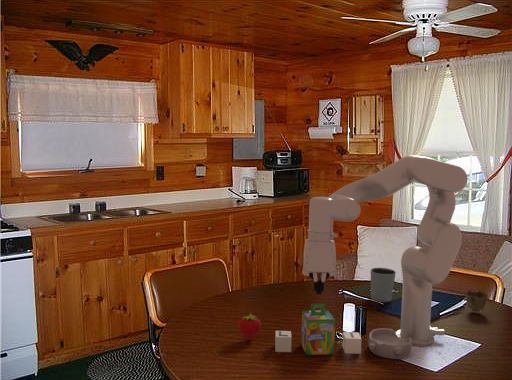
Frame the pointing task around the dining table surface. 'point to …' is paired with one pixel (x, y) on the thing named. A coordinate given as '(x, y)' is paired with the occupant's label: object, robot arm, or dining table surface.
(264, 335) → the dining table surface
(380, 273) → the grey cylinder
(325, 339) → the chalk box
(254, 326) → the strawberry
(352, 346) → the cream numeral block
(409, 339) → the dish
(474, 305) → the cup
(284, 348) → the white marked cube
